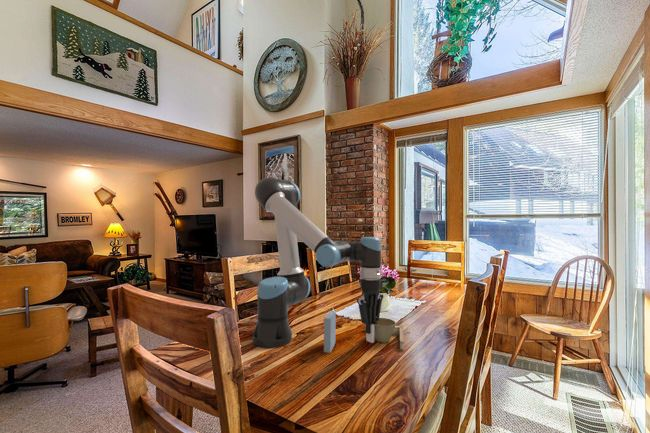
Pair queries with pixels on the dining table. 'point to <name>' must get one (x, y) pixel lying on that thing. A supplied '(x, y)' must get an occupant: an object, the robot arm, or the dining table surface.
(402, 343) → the l-shaped bracket
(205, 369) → the dining table surface
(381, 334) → the flower pot
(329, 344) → the pale blue rectangular prism
